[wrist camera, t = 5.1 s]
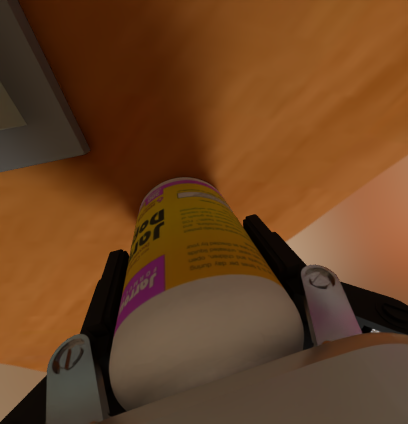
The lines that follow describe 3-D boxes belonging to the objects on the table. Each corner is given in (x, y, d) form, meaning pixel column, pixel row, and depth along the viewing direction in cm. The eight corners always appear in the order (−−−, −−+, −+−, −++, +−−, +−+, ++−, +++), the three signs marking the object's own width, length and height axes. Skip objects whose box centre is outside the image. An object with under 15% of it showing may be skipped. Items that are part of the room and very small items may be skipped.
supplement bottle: (154, 159, 12) (83, 898, 1) (238, 191, 14) (498, 473, 3) (128, 239, 14) (29, 667, 3) (203, 254, 17) (284, 527, 6)
